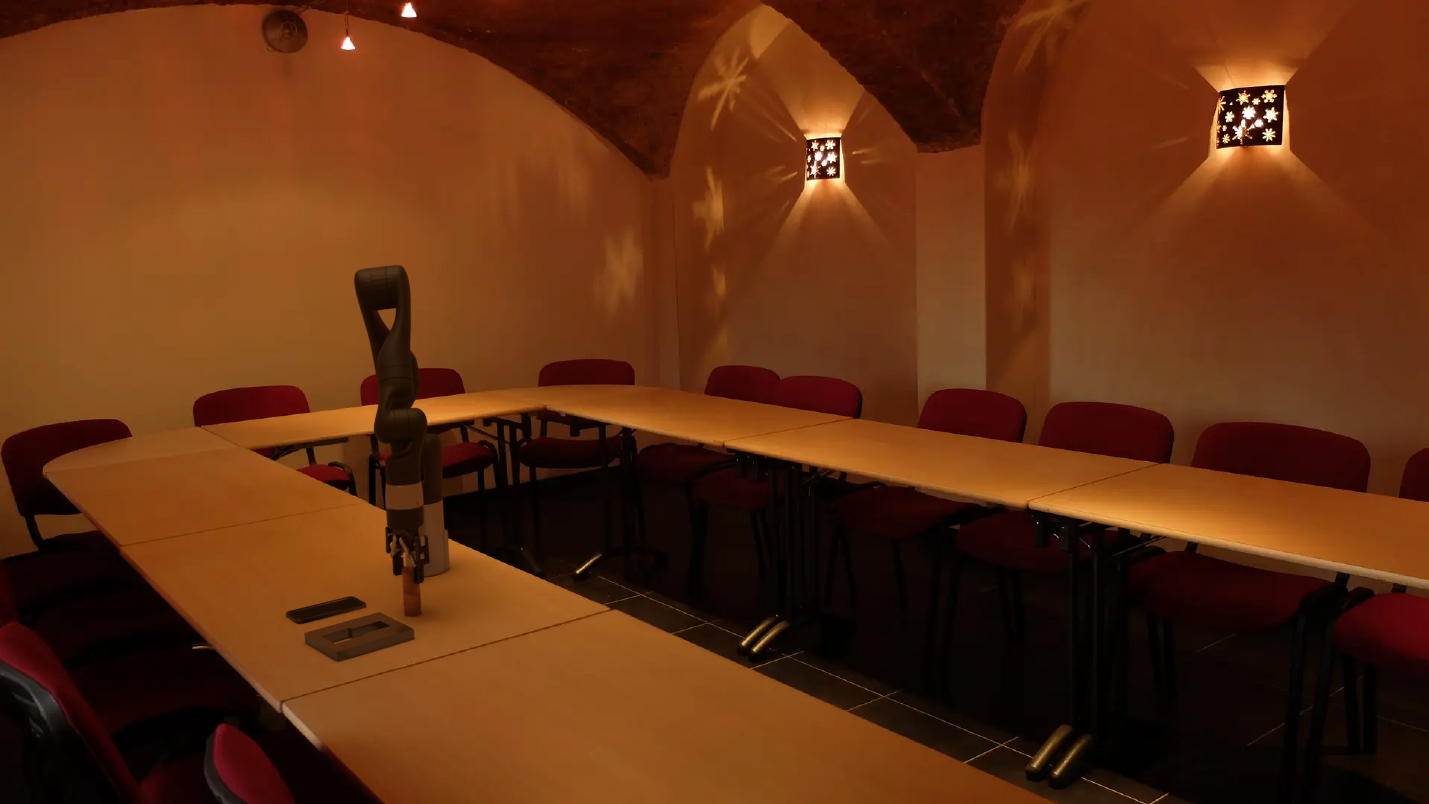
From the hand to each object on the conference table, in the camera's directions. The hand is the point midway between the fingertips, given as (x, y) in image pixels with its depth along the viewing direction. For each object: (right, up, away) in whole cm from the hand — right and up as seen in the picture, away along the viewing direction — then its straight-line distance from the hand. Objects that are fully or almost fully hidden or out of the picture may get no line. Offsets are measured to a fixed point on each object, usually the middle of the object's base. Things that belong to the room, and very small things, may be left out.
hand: (408, 579), depth 224 cm
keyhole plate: (-6, -10, -13) cm, 17 cm away
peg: (0, -8, +2) cm, 8 cm away
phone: (-19, -8, +4) cm, 21 cm away
